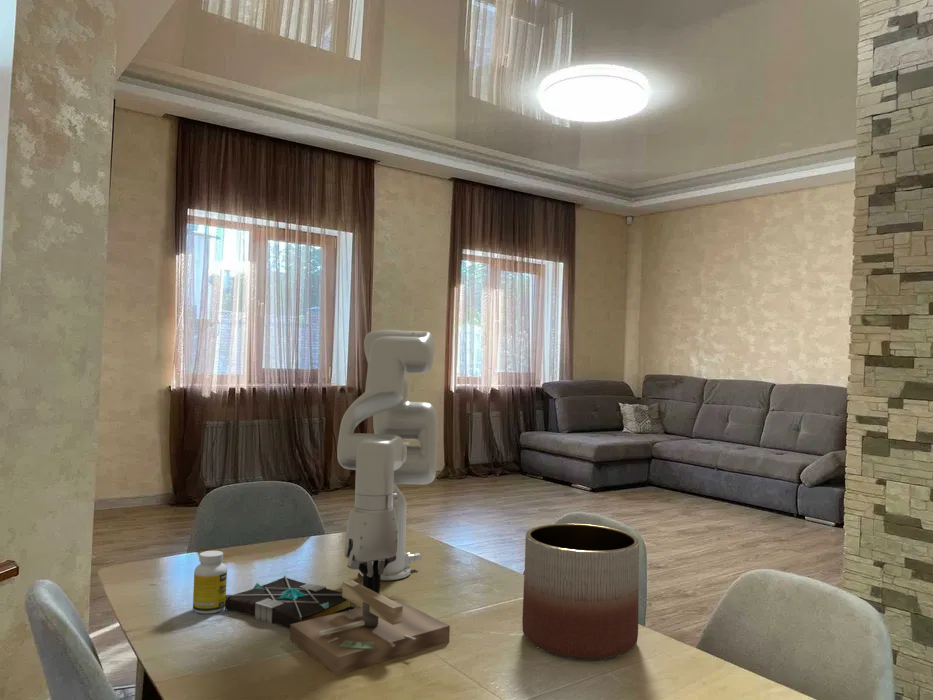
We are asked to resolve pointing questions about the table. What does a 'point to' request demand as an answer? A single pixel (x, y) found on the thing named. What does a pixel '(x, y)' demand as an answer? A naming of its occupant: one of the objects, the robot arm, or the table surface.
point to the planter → (581, 590)
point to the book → (287, 602)
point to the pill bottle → (210, 583)
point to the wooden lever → (368, 607)
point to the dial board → (367, 638)
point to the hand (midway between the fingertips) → (371, 594)
